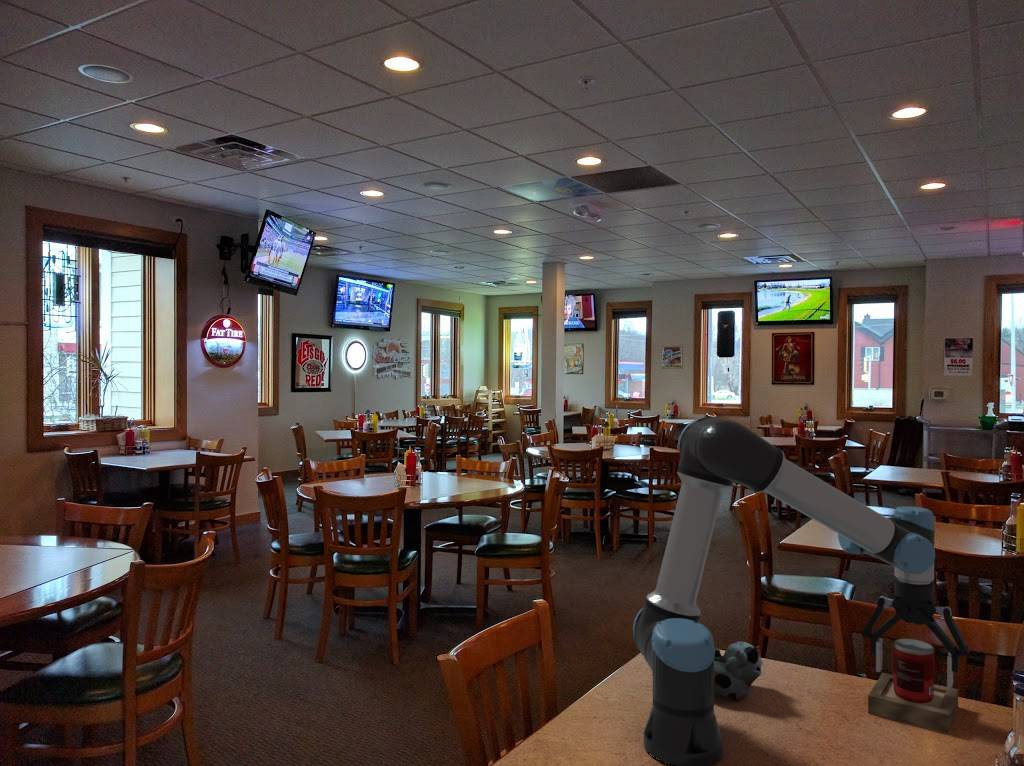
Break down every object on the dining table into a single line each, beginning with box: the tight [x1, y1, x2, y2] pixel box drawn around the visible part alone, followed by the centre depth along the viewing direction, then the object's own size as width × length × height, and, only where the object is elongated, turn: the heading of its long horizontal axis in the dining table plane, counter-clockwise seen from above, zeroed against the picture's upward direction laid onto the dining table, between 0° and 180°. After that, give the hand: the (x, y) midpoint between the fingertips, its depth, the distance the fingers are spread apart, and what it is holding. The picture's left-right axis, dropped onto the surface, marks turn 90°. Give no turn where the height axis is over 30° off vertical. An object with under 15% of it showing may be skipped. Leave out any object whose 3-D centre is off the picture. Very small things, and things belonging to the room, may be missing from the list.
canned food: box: [893, 638, 935, 703], centre depth 159 cm, size 8×8×11 cm
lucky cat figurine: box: [714, 641, 764, 702], centre depth 169 cm, size 15×12×14 cm
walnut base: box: [867, 672, 959, 734], centre depth 159 cm, size 15×15×4 cm
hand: (913, 677), depth 159 cm, fingers open, 13 cm apart
